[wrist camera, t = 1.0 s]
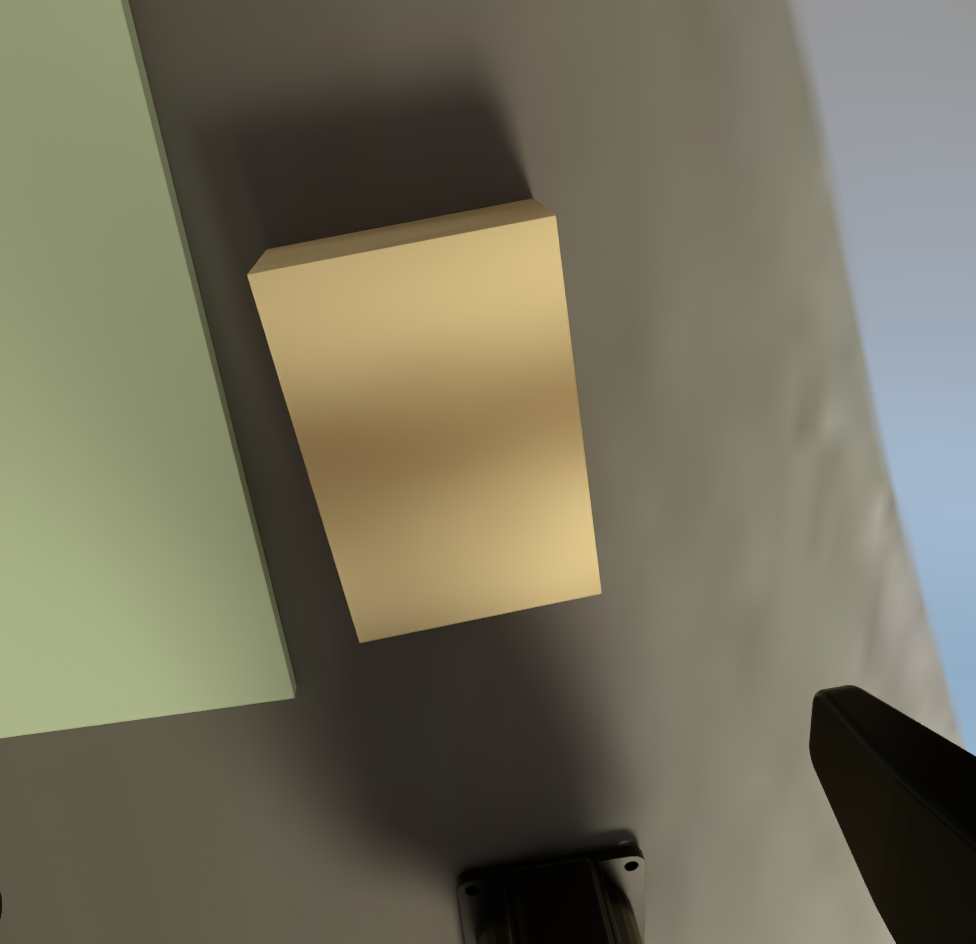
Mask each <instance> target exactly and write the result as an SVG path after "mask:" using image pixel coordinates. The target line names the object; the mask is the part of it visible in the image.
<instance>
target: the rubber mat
mask: <svg viewBox="0 0 976 944" xmlns="http://www.w3.org/2000/svg"><path fill="white" fill-rule="evenodd" d="M296 687H297V685H296V681H295V677H294V673H293V669H292V665H291V661H290V657H289V653H288V649H287V645H286V641H285V637H284V632H283V628H282V624H281V620H280V616H279V612H278V608H277V604H276V600H275V596H274V592H273V588H272V584H271V580H270V575H269V571H268V567H267V563H266V559H265V555H264V551H263V547H262V543H261V539H260V535H259V531H258V527H257V523H256V518H255V514H254V510H253V506H252V502H251V498H250V494H249V490H248V486H247V482H246V478H245V474H244V470H243V466H242V461H241V457H240V453H239V449H238V445H237V441H236V437H235V433H234V429H233V425H232V421H231V417H230V413H229V409H228V404H227V400H226V396H225V392H224V388H223V384H222V380H221V376H220V372H219V368H218V364H217V360H216V356H215V351H214V347H213V343H212V339H211V335H210V331H209V327H208V323H207V319H206V315H205V311H204V307H203V303H202V299H201V294H200V290H199V286H198V282H197V278H196V274H195V270H194V266H193V262H192V258H191V254H190V250H189V246H188V242H187V237H186V233H185V229H184V225H183V221H182V217H181V213H180V209H179V205H178V201H177V197H176V193H175V189H174V185H173V180H172V176H171V172H170V168H169V164H168V160H167V156H166V152H165V148H164V144H163V140H162V136H161V132H160V128H159V123H158V119H157V115H156V111H155V107H154V103H153V99H152V95H151V91H150V87H149V83H148V79H147V75H146V71H145V66H144V62H143V58H142V54H141V50H140V46H139V42H138V38H137V34H136V30H135V26H134V22H133V18H132V14H131V9H130V5H129V1H128V0H0V738H5V737H12V736H19V735H27V734H34V733H41V732H49V731H56V730H63V729H71V728H78V727H86V726H93V725H100V724H108V723H115V722H122V721H130V720H137V719H145V718H152V717H159V716H167V715H174V714H181V713H189V712H196V711H203V710H211V709H218V708H226V707H233V706H240V705H248V704H255V703H262V702H270V701H277V700H285V699H292V698H295V693H296Z"/></svg>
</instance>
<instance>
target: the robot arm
mask: <svg viewBox="0 0 976 944" xmlns="http://www.w3.org/2000/svg"><path fill="white" fill-rule="evenodd" d="M809 750H810V756H811V760H812V763H813V766H814V769H815V771H816V773H817V776H818V778H819V780H820V783H821V785H822V787H823V789H824V792H825V794H826V796H827V798H828V801H829V803H830V805H831V807H832V810H833V812H834V814H835V816H836V819H837V821H838V823H839V825H840V828H841V830H842V832H843V835H844V837H845V839H846V841H847V844H848V846H849V848H850V850H851V853H852V855H853V857H854V859H855V862H856V864H857V866H858V868H859V871H860V873H861V875H862V878H863V880H864V882H865V884H866V886H867V888H868V891H869V893H870V895H871V897H872V899H873V901H874V903H875V906H876V907H877V909H878V911H879V913H880V915H881V917H882V919H883V921H884V922H885V924H886V926H887V928H888V930H889V932H890V933H891V935H892V937H893V939H894V940H895V942H896V944H976V756H974V755H973V754H971V753H969V752H967V751H966V750H964V749H962V748H961V747H959V746H957V745H956V744H954V743H952V742H951V741H949V740H947V739H946V738H944V737H942V736H940V735H939V734H937V733H935V732H934V731H932V730H930V729H929V728H927V727H925V726H924V725H922V724H920V723H919V722H917V721H915V720H914V719H912V718H910V717H908V716H907V715H905V714H903V713H902V712H900V711H898V710H897V709H895V708H893V707H892V706H890V705H888V704H887V703H885V702H883V701H881V700H880V699H878V698H876V697H875V696H873V695H871V694H870V693H868V692H866V691H865V690H863V689H861V688H859V687H856V686H853V685H846V686H840V687H834V688H829V689H823V690H820V691H818V692H817V693H816V694H815V696H814V699H813V705H812V717H811V728H810V740H809ZM645 876H646V863H645V860H644V857H643V854H642V851H641V850H640V849H639V848H638V847H635V846H627V847H620V848H614V849H607V850H601V851H594V852H587V853H581V854H574V855H568V856H561V857H554V858H548V859H541V860H535V861H528V862H521V863H515V864H508V865H502V866H495V867H488V868H482V869H475V870H469V871H466V872H464V873H462V874H460V876H459V877H458V878H457V890H458V898H459V905H460V911H461V918H462V925H463V932H464V939H465V944H644V930H645ZM1 913H2V897H1V893H0V918H1Z"/></svg>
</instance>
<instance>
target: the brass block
mask: <svg viewBox="0 0 976 944" xmlns="http://www.w3.org/2000/svg"><path fill="white" fill-rule="evenodd" d="M247 276H248V280H249V283H250V286H251V289H252V293H253V296H254V299H255V302H256V306H257V309H258V312H259V315H260V319H261V322H262V325H263V329H264V332H265V335H266V338H267V342H268V345H269V348H270V351H271V355H272V358H273V361H274V365H275V368H276V371H277V374H278V378H279V381H280V384H281V387H282V391H283V394H284V397H285V401H286V404H287V407H288V410H289V414H290V417H291V420H292V423H293V427H294V430H295V433H296V437H297V440H298V443H299V446H300V450H301V453H302V456H303V459H304V463H305V466H306V469H307V473H308V476H309V479H310V482H311V486H312V489H313V492H314V495H315V499H316V502H317V505H318V508H319V512H320V515H321V518H322V522H323V525H324V528H325V531H326V535H327V538H328V541H329V544H330V548H331V551H332V554H333V558H334V561H335V564H336V567H337V571H338V574H339V577H340V580H341V584H342V587H343V590H344V594H345V597H346V600H347V603H348V607H349V610H350V613H351V616H352V620H353V623H354V626H355V630H356V633H357V636H358V639H359V643H363V642H368V641H373V640H377V639H382V638H387V637H392V636H397V635H402V634H407V633H411V632H416V631H421V630H426V629H431V628H436V627H441V626H446V625H450V624H455V623H460V622H465V621H470V620H475V619H480V618H485V617H489V616H494V615H499V614H504V613H509V612H514V611H519V610H524V609H528V608H533V607H538V606H543V605H548V604H553V603H558V602H563V601H567V600H572V599H577V598H582V597H587V596H592V595H597V594H601V585H600V577H599V569H598V560H597V552H596V544H595V536H594V527H593V519H592V511H591V503H590V494H589V486H588V478H587V470H586V462H585V453H584V445H583V437H582V429H581V420H580V412H579V404H578V396H577V388H576V379H575V371H574V363H573V355H572V346H571V338H570V330H569V322H568V313H567V305H566V297H565V289H564V281H563V272H562V264H561V256H560V248H559V239H558V231H557V223H556V215H554V214H553V213H552V212H550V211H549V210H548V209H546V208H545V207H544V206H543V205H541V204H540V203H539V202H537V201H536V200H535V199H527V200H522V201H517V202H512V203H506V204H501V205H496V206H491V207H485V208H480V209H475V210H470V211H465V212H459V213H454V214H449V215H444V216H438V217H433V218H428V219H423V220H417V221H412V222H407V223H402V224H396V225H391V226H386V227H381V228H375V229H370V230H365V231H360V232H354V233H349V234H344V235H339V236H333V237H328V238H323V239H318V240H313V241H307V242H302V243H297V244H292V245H286V246H281V247H276V248H271V249H267V250H266V251H265V252H264V253H263V255H262V256H261V257H260V259H259V260H258V261H257V263H256V264H255V265H254V266H253V268H252V269H251V270H250V272H249V273H248V274H247Z"/></svg>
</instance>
